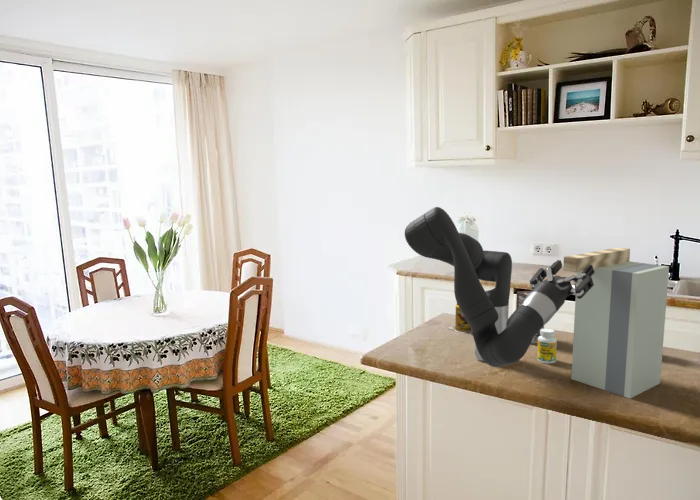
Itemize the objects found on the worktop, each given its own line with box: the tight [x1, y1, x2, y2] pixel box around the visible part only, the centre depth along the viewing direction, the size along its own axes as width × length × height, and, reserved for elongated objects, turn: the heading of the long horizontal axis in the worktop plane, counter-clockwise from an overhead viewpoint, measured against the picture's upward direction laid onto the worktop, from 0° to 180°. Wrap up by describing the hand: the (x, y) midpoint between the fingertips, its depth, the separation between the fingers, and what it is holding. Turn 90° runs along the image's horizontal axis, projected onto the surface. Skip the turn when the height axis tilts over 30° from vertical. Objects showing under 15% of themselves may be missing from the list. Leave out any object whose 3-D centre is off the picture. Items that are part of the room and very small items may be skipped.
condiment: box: [447, 303, 472, 334], centre depth 191 cm, size 7×8×12 cm
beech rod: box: [562, 247, 631, 273], centre depth 138 cm, size 26×4×4 cm, turn 125°
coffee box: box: [515, 290, 545, 345], centre depth 178 cm, size 9×6×16 cm
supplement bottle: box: [536, 328, 558, 365], centre depth 158 cm, size 5×5×10 cm
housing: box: [571, 260, 670, 399], centre depth 140 cm, size 16×16×32 cm
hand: (575, 265), depth 132 cm, fingers open, 8 cm apart
